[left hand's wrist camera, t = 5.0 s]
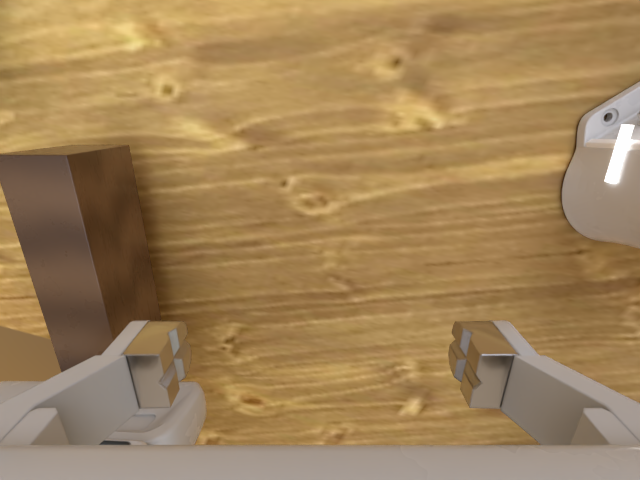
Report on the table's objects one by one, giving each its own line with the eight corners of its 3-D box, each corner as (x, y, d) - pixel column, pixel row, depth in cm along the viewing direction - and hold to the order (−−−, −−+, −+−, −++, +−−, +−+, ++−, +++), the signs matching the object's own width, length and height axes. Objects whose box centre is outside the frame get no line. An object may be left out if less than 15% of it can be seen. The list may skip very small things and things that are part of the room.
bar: (72, 144, 32) (-10, 154, 24) (129, 144, 32) (66, 154, 24) (125, 365, 41) (78, 425, 33) (170, 365, 41) (134, 425, 33)
